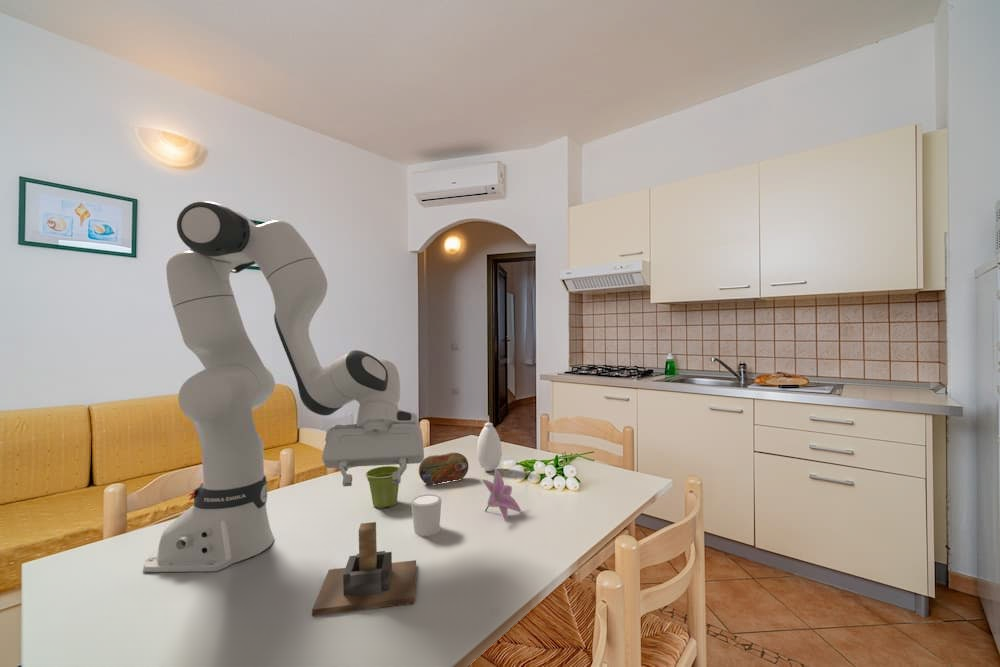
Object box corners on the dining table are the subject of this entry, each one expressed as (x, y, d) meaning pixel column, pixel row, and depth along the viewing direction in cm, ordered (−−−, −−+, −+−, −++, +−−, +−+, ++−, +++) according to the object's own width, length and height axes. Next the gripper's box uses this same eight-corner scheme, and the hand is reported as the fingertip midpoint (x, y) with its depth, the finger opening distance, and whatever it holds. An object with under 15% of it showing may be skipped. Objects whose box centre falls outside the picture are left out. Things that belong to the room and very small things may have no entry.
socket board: (312, 615, 69) (311, 587, 69) (328, 574, 81) (328, 550, 81) (414, 603, 72) (413, 576, 72) (416, 565, 83) (415, 542, 83)
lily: (480, 532, 99) (499, 497, 98) (459, 497, 109) (477, 465, 107) (518, 533, 106) (536, 501, 105) (496, 500, 116) (513, 470, 114)
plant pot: (390, 513, 109) (389, 478, 109) (358, 509, 112) (357, 475, 112) (409, 499, 117) (409, 467, 117) (380, 495, 120) (379, 464, 120)
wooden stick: (359, 587, 75) (358, 529, 75) (362, 579, 77) (360, 523, 77) (375, 586, 75) (374, 528, 75) (377, 577, 78) (376, 522, 78)
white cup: (436, 538, 94) (435, 506, 94) (406, 536, 96) (405, 504, 96) (446, 524, 101) (445, 494, 101) (418, 522, 103) (417, 493, 103)
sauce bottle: (506, 470, 140) (505, 414, 140) (489, 476, 135) (488, 418, 135) (489, 465, 146) (488, 412, 146) (472, 471, 140) (471, 415, 140)
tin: (420, 487, 126) (419, 458, 127) (418, 484, 129) (417, 456, 129) (469, 479, 132) (468, 452, 133) (465, 476, 135) (465, 449, 135)
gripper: (325, 417, 91) (313, 479, 81) (423, 413, 94) (423, 472, 85) (330, 433, 96) (319, 494, 86) (424, 429, 99) (423, 487, 89)
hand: (371, 483), depth 85 cm, fingers open, 8 cm apart
